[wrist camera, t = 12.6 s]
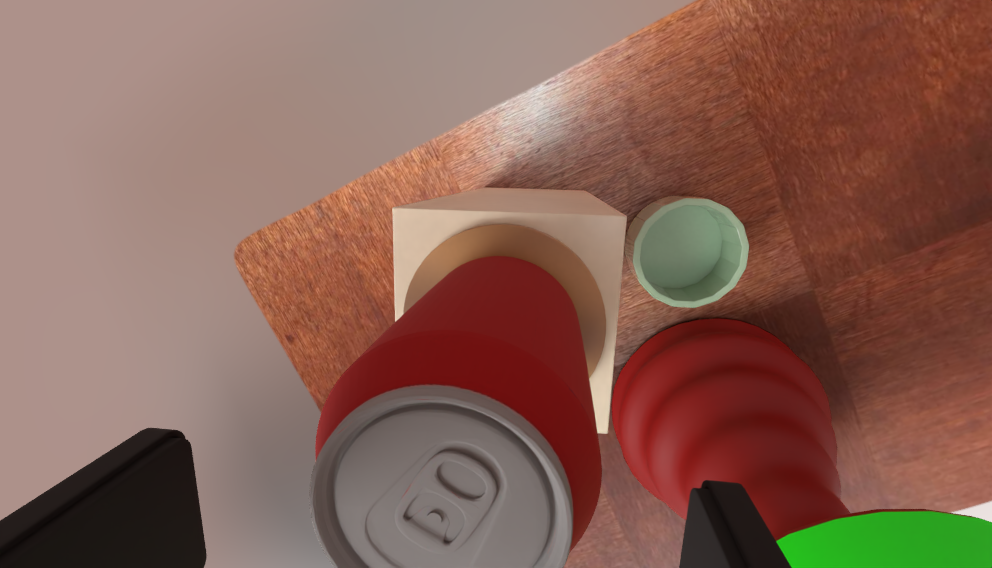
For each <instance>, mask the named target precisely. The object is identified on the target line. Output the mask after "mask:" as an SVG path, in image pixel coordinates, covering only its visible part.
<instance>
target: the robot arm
mask: <svg viewBox="0 0 992 568" xmlns="http://www.w3.org/2000/svg"><path fill="white" fill-rule="evenodd" d="M192 456H193V455H192V448H191V444H190V442H189V441H188V440H186V439H185V436H184V435H183V433H182V432H180V431H178V430H169V429H159V428H147V429H144V430H142V431H140V432H138V433H137V434H135V435H134V436H132V437H131V438H129V439H128V440H126V441H125V442H123V443H121V444H120V445H118V446H117V447H115V448H114V449H112V450H110V451H109V452H107V453H106V454H104V455H102V456H101V457H100V458H98V459H96V460H95V461H93V462H92V463H90V464H89V465H87V466H85V467H84V468H82V469H80V470H79V471H77V472H76V473H74V474H73V475H71V476H70V477H68V478H66V479H65V480H63V481H62V482H60V483H59V484H57V485H56V486H54V487H52V488H51V489H49V490H48V491H46V492H44V493H43V494H41V495H40V496H38V497H37V498H35V499H34V500H32V501H31V502H29V503H27V504H26V505H24V506H23V507H21V508H20V509H18V510H16V511H15V512H13V513H12V514H10V515H9V516H7V517H5V518H4V519H2V520H1V521H0V568H204V565H205V562H206V548H205V541H204V534H203V526H202V519H201V512H200V505H199V498H198V491H197V484H196V477H195V470H194V463H193V457H192ZM679 568H792V567H791V566H790V564H789V562H788V561H787V559H786V557H785V555H784V554H783V552H782V550H781V549H780V547H779V545H778V544H777V542H776V540H775V539H774V537H773V535H772V534H771V532H770V530H769V529H768V527H767V525H766V524H765V522H764V520H763V519H762V517H761V515H760V514H759V512H758V510H757V508H756V507H755V505H754V503H753V502H752V500H751V498H750V497H749V495H748V493H747V492H746V490H745V488H744V487H743V486H742V485H741V484H739V483H734V482H723V481H713V480H705V481H703V483H702V485H701V488H692V490H691V492H690V497H689V504H688V511H687V518H686V525H685V532H684V539H683V546H682V552H681V559H680V566H679Z"/></svg>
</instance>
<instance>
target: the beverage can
mask: <svg viewBox="0 0 992 568" xmlns="http://www.w3.org/2000/svg"><path fill="white" fill-rule="evenodd" d="M601 477H602V466H601V455H600V448H599V441H598V434H597V426H596V419H595V412H594V406H593V400H592V393H591V387H590V380H589V374H588V368H587V362H586V357H585V351H584V345H583V340H582V335H581V330H580V325H579V320H578V316H577V312H576V309H575V307H574V304H573V302H572V300H571V298H570V297H569V295H568V293H567V292H566V290H565V289H564V288H563V286H562V285H561V284H560V283H559V282H558V281H557V280H556V279H555V278H554V277H553V276H552V275H550V274H549V273H548V272H547V271H545V270H544V269H542V268H540V267H539V266H537V265H535V264H533V263H530V262H528V261H525V260H522V259H518V258H514V257H507V256H490V257H483V258H479V259H475V260H472V261H469V262H467V263H465V264H462V265H461V266H459V267H457V268H455V269H454V270H453V271H451V272H450V273H449V274H448V275H446V276H445V277H444V278H443V279H442V280H441V281H439V282H438V283H437V284H436V285H435V286H434V287H433V288H431V289H430V290H429V291H428V292H427V293H426V294H425V295H424V296H423V297H422V298H420V299H419V300H418V301H417V302H416V303H415V304H414V305H413V306H412V307H411V308H410V309H409V310H407V311H406V312H405V313H404V314H403V315H402V316H401V317H400V318H399V319H398V320H397V321H396V322H395V323H394V324H393V325H392V326H391V327H390V328H389V329H388V330H386V331H385V332H384V333H383V334H382V335H381V336H380V337H379V338H378V339H377V340H376V341H375V342H374V343H373V344H372V345H371V346H370V347H369V348H368V349H367V350H366V351H365V352H364V353H363V354H362V355H361V356H360V357H359V358H358V359H357V360H356V361H355V362H354V363H353V364H352V365H351V366H350V367H349V368H348V369H347V370H346V371H345V372H344V373H343V375H342V376H341V377H340V378H339V380H338V381H337V382H336V384H335V385H334V387H333V389H332V390H331V392H330V394H329V396H328V398H327V400H326V402H325V405H324V407H323V410H322V413H321V417H320V420H319V424H318V430H317V436H316V462H315V465H314V468H313V472H312V476H311V482H310V492H309V503H310V504H309V505H310V512H311V518H312V522H313V526H314V529H315V533H316V535H317V538H318V540H319V543H320V545H321V547H322V549H323V551H324V552H325V554H326V556H327V557H328V559H329V561H330V562H331V563H332V565H333V566H334V568H563V567H564V565H565V563H566V560H567V558H568V555H569V553H570V551H571V550H572V549H573V548H574V547H575V545H576V544H577V543H578V541H579V540H580V539H581V537H582V536H583V534H584V532H585V531H586V529H587V527H588V525H589V523H590V521H591V519H592V516H593V514H594V511H595V508H596V506H597V502H598V498H599V494H600V488H601Z"/></svg>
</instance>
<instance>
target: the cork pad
mask: <svg viewBox="0 0 992 568" xmlns="http://www.w3.org/2000/svg"><path fill="white" fill-rule="evenodd" d="M490 256H507V257H514V258H518V259H522V260H525V261H528V262H530V263H533V264H535V265H537V266H539V267H540V268H542V269H544V270H545V271H547V272H548V273H549V274H550V275H552V276H553V277H554V278H555V279H556V280H557V281H558V282H559V283H560V284H561V285H562V286H563V288H564V289H565V290H566V292H567V293H568V295H569V297H570V298H571V300H572V302H573V304H574V307H575V309H576V312H577V316H578V320H579V325H580V330H581V335H582V340H583V345H584V351H585V357H586V362H587V368H588V374H589V378H590V377H591V375H592V374H593V372H594V371H595V369H596V367H597V364H598V362H599V360H600V358H601V355H602V351H603V348H604V343H605V337H606V314H605V306H604V303H603V299H602V295H601V292H600V290H599V288H598V285H597V283H596V281H595V279H594V277H593V275H592V274H591V272H590V270H589V269H588V267H587V266H586V265H585V264H584V262H583V261H582V260H581V259H580V257H579V256H578V255H577V254H575V253H574V252H573V251H572V250H571V249H570V248H569V247H568V246H566V245H565V244H564V243H562V242H561V241H559V240H558V239H556V238H554V237H552V236H551V235H549V234H547V233H545V232H542V231H539V230H537V229H534V228H531V227H526V226H522V225H516V224H506V223H504V224H488V225H482V226H477V227H474V228H471V229H467V230H465V231H462V232H460V233H458V234H456V235H454V236H452V237H451V238H449V239H447V240H446V241H444V242H443V243H441V244H440V245H439V246H438V247H436V248H435V249H434V250H433V251H432V252H431V253H430V254H429V255H428V256H427V257H426V258H425V259H424V260H423V262H422V263H421V265H420V266H419V267H418V269H417V270H416V272H415V274H414V276H413V278H412V280H411V282H410V284H409V287H408V290H407V294H406V297H405V303H404V310H403V314H404V313H405V312H406V311H407V310H409V309H410V308H411V307H412V306H413V305H414V304H415V303H416V302H417V301H418V300H419V299H420V298H422V297H423V296H424V295H425V294H426V293H427V292H428V291H429V290H430V289H431V288H433V287H434V286H435V285H436V284H437V283H438V282H439V281H441V280H442V279H443V278H444V277H445V276H446V275H448V274H449V273H450V272H451V271H453V270H454V269H455V268H457V267H459V266H461V265H462V264H465V263H467V262H469V261H472V260H475V259H479V258H483V257H490Z"/></svg>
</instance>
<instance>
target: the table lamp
mask: <svg viewBox="0 0 992 568" xmlns="http://www.w3.org/2000/svg"><path fill="white" fill-rule="evenodd" d="M612 420H613V425H614V429H615V432H616V436H617V439H618V441H619V443H620V445H621V448H622V452H623V455H624V459H625V460H626V462H627V464H628V466H629V468H630V470H631V472H632V473H633V475H634V476H635V477H636V478H637V479H638V481H639V482H640V483H641V484H642V485H643V487H644V488H646V489H647V490H648V491H649V492H650V493H652V494H653V495H654V496H655V497H657V498H658V499H660V500H661V501H663V502H665V503H666V504H667V505H668V506H669V507H670V508H671V509H672V510H673V511H675V512H676V513H677V514H678V515H679V516H681V517H682V518H683V519H685V520H686V518H687V511H688V504H689V497H690V492H691V490H692V488H701V485H702V483H703V481H705V480H713V481H723V482H734V483H739V484H741V485H742V486H743V487H744V488H745V490H746V492H747V493H748V495H749V497H750V498H751V500H752V502H753V503H754V505H755V507H756V508H757V510H758V512H759V514H760V515H761V517H762V519H763V520H764V522H765V524H766V525H767V527H768V529H769V530H770V532H771V534H772V535H773V537H774V539H775V540H776V542H777V544H778V545H779V547H780V549H781V550H782V552H783V554H784V555H785V557H786V559H787V561H788V562H789V564H790V566H791V567H792V568H992V522H989V521H986V520H983V519H980V518H976V517H972V516H966V515H959V514H953V513H946V512H940V511H933V510H926V509H876V510H870V511H864V512H858V513H852V514H851V513H850V512H849V511H848V509H847V508H846V507H845V505H844V504H843V503H842V502H841V500H840V497H841V485H840V480H839V475H838V472H837V469H836V459H837V444H836V439H835V434H834V430H833V428H832V426H831V412H830V407H829V402H828V398H827V396H826V393H825V391H824V389H823V387H822V385H821V382H820V381H819V379H818V378H817V377H816V375H815V374H814V373H813V371H812V370H811V369H810V367H809V366H808V365H807V364H806V363H804V362H803V361H802V360H801V359H800V358H799V357H797V356H796V355H795V354H794V353H793V352H792V350H791V349H790V348H789V347H788V346H786V345H785V344H784V343H783V342H781V341H780V340H779V339H778V338H777V337H775V336H774V335H772V334H770V333H768V332H767V331H765V330H763V329H761V328H759V327H757V326H754V325H751V324H748V323H745V322H742V321H739V320H729V319H720V318H716V319H702V320H695V321H691V322H686V323H682V324H678V325H676V326H673V327H671V328H669V329H666V330H664V331H662V332H660V333H658V334H657V335H655V336H654V337H652V338H651V339H650V340H648V341H647V342H645V343H644V344H643V345H642V346H641V347H640V348H639V349H638V350H637V351H636V352H635V353H634V354H633V355H632V356H631V357H630V359H629V360H628V362H627V363H626V365H625V366H624V368H623V369H622V371H621V372H620V375H619V377H618V380H617V382H616V385H615V387H614V392H613V398H612Z"/></svg>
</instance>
